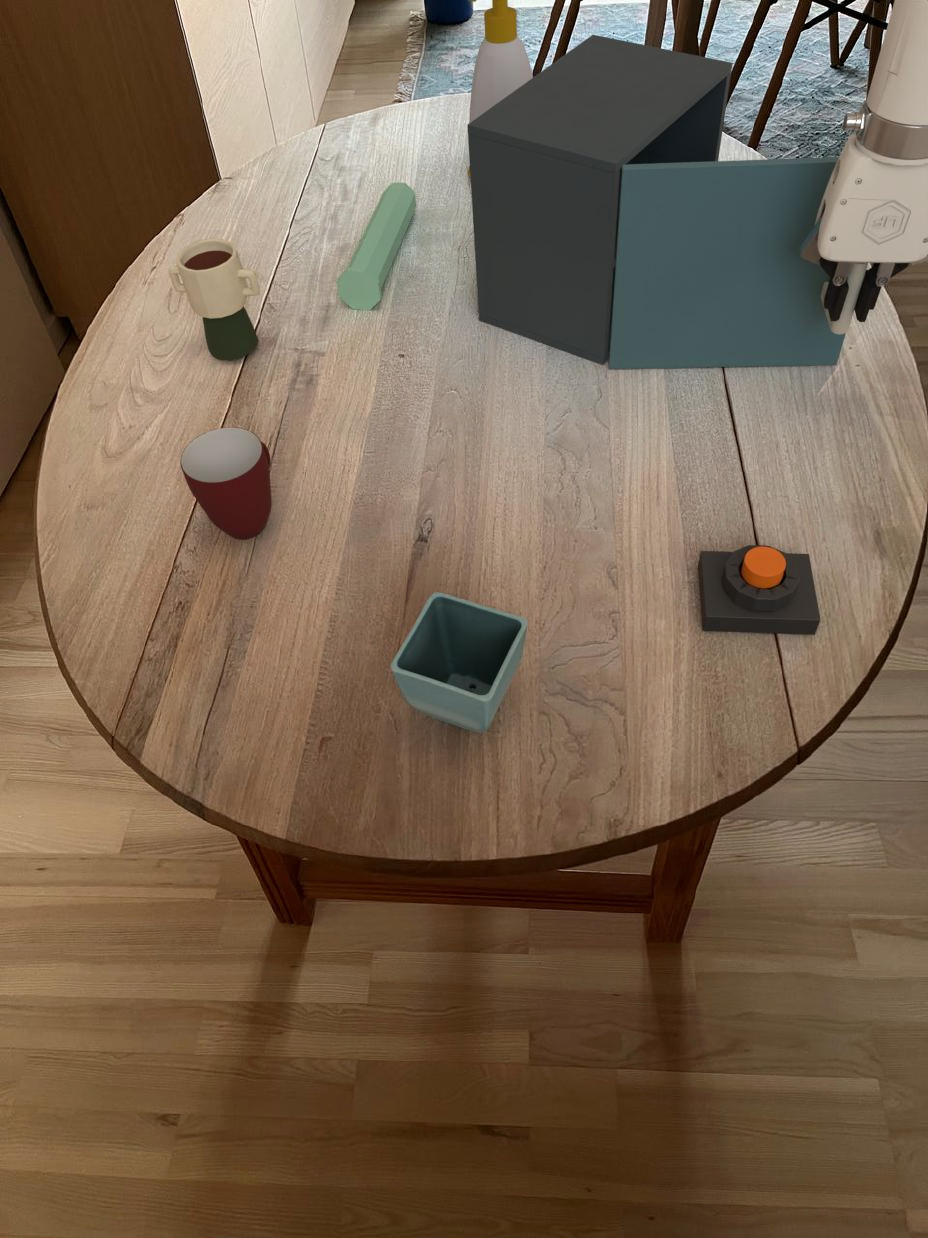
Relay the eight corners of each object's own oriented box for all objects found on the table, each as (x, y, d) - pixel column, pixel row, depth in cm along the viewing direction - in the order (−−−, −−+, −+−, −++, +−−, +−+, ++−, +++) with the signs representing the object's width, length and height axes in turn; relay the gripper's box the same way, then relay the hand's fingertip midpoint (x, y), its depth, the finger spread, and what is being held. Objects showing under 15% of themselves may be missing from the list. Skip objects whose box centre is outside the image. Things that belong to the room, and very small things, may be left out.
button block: (804, 568, 90) (813, 540, 87) (815, 635, 86) (825, 607, 82) (697, 565, 92) (703, 537, 88) (702, 631, 87) (708, 603, 84)
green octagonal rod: (388, 166, 132) (341, 261, 117) (427, 183, 133) (386, 280, 118) (377, 203, 137) (331, 300, 122) (416, 219, 138) (374, 317, 123)
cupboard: (703, 259, 124) (732, 62, 105) (603, 365, 112) (615, 163, 93) (585, 224, 131) (592, 34, 112) (478, 320, 119) (467, 124, 100)
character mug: (284, 335, 120) (260, 239, 109) (267, 370, 115) (240, 273, 105) (204, 330, 121) (173, 235, 111) (184, 364, 117) (150, 269, 107)
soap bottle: (451, 180, 141) (435, -21, 121) (499, 149, 146) (492, -49, 126) (510, 202, 136) (504, -5, 116) (558, 168, 141) (560, -35, 121)
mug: (233, 479, 103) (208, 407, 96) (302, 487, 102) (282, 414, 94) (196, 549, 97) (166, 478, 89) (269, 559, 96) (245, 487, 88)
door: (848, 403, 104) (914, 196, 86) (611, 407, 107) (626, 205, 88) (835, 359, 109) (895, 154, 91) (608, 363, 112) (622, 164, 93)
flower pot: (531, 679, 85) (530, 617, 78) (493, 760, 80) (489, 702, 73) (442, 651, 87) (433, 589, 80) (400, 727, 82) (387, 668, 75)
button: (779, 559, 87) (783, 546, 85) (784, 589, 84) (788, 576, 83) (739, 558, 87) (742, 545, 86) (742, 588, 85) (746, 575, 83)
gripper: (816, 148, 80) (769, 334, 94) (1012, 149, 78) (934, 338, 93) (805, 107, 84) (762, 290, 99) (990, 108, 83) (919, 294, 97)
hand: (845, 312), depth 96 cm, fingers closed on door, 2 cm apart
